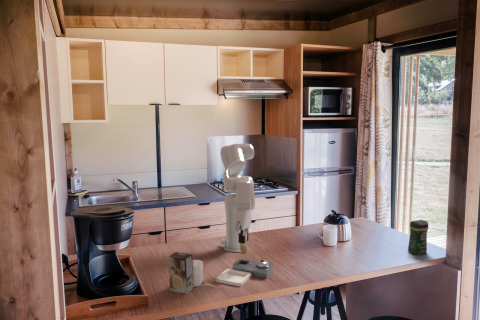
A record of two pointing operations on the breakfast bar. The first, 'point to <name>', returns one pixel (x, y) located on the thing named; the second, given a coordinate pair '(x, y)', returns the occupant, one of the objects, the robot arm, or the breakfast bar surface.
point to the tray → (233, 277)
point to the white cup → (197, 272)
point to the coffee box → (181, 272)
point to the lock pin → (244, 246)
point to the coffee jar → (418, 237)
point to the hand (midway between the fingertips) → (243, 241)
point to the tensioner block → (254, 267)
